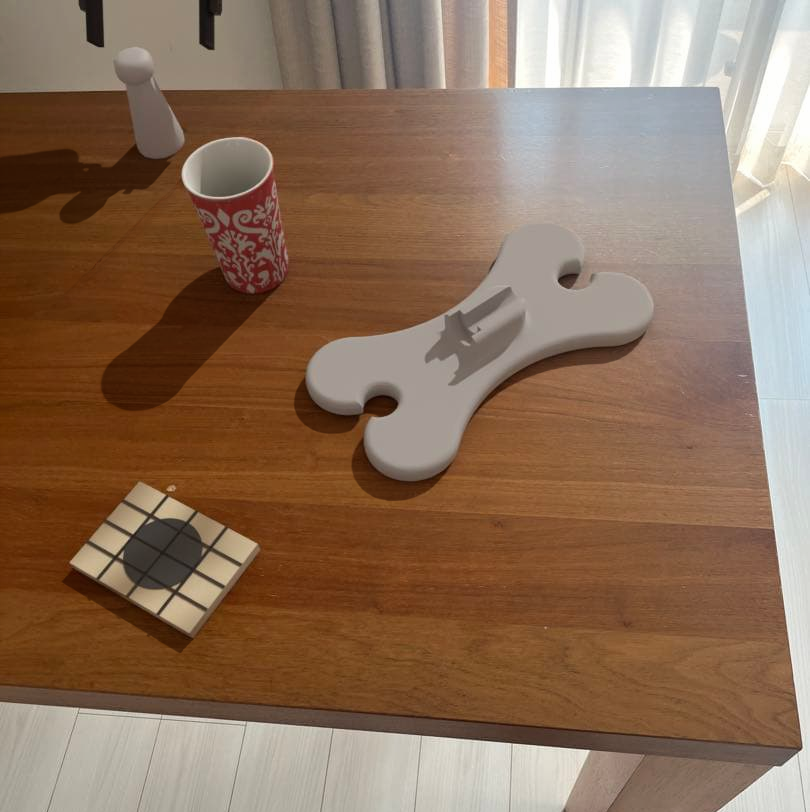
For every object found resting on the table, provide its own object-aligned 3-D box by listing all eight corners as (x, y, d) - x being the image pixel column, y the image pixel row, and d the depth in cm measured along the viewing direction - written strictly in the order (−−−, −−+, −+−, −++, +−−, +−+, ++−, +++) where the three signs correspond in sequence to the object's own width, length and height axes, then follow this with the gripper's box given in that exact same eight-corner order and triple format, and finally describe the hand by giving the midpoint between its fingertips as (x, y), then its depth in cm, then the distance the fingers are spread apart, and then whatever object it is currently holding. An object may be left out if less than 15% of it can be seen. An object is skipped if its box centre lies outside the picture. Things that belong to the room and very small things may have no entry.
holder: (670, 318, 90) (680, 282, 85) (402, 501, 81) (398, 470, 77) (545, 221, 98) (548, 183, 94) (290, 378, 90) (280, 344, 85)
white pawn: (181, 174, 107) (145, 72, 95) (137, 171, 108) (96, 70, 96) (195, 142, 109) (162, 39, 98) (152, 140, 110) (114, 38, 99)
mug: (292, 301, 95) (265, 197, 83) (210, 301, 96) (172, 198, 84) (307, 219, 101) (284, 112, 89) (230, 220, 102) (198, 114, 90)
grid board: (74, 568, 81) (68, 562, 79) (143, 487, 84) (139, 480, 83) (193, 639, 76) (188, 632, 75) (260, 550, 80) (257, 543, 79)
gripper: (20, -189, 94) (32, 34, 100) (244, -194, 90) (243, 39, 96) (58, -155, 101) (67, 51, 107) (268, -158, 97) (265, 56, 103)
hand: (150, 46), depth 102 cm, fingers open, 13 cm apart
